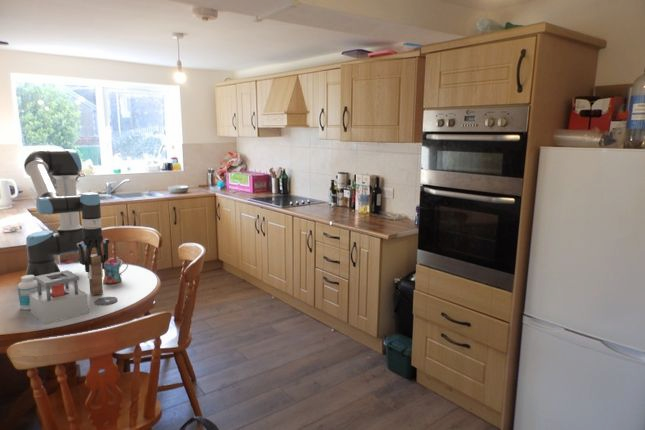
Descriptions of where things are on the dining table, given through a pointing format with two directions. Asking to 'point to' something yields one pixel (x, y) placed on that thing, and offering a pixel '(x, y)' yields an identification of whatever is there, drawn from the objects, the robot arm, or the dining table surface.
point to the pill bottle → (26, 290)
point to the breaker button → (58, 290)
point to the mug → (112, 271)
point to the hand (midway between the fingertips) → (95, 277)
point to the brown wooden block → (96, 275)
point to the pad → (105, 300)
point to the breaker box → (58, 298)
